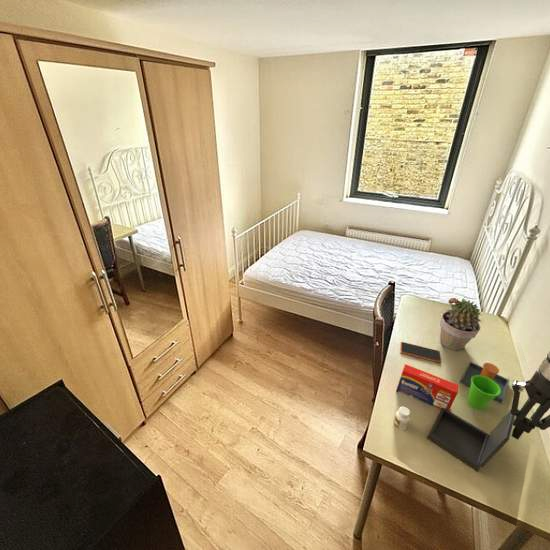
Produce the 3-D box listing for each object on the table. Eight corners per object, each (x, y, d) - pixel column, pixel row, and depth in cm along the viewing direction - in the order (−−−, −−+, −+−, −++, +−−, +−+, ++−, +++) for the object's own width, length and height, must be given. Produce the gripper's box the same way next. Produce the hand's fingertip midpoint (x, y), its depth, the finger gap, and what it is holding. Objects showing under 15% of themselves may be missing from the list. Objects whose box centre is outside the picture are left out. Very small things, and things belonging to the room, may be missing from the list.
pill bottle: (391, 418, 103) (396, 404, 100) (403, 419, 103) (408, 405, 99) (395, 430, 100) (400, 416, 96) (408, 431, 99) (413, 417, 96)
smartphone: (400, 342, 138) (400, 341, 137) (439, 352, 133) (439, 350, 132) (400, 353, 132) (400, 351, 131) (441, 363, 127) (441, 362, 126)
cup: (494, 415, 105) (507, 395, 100) (469, 415, 105) (481, 395, 100) (479, 394, 113) (490, 374, 108) (456, 394, 113) (466, 374, 108)
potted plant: (486, 353, 133) (508, 308, 120) (449, 360, 129) (469, 314, 116) (456, 328, 148) (473, 286, 136) (423, 333, 144) (437, 291, 132)
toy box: (448, 406, 108) (458, 384, 103) (447, 414, 105) (457, 392, 100) (398, 384, 117) (404, 363, 111) (395, 391, 114) (402, 370, 108)
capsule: (492, 381, 118) (500, 367, 114) (489, 389, 115) (497, 375, 111) (478, 374, 121) (485, 360, 117) (474, 381, 118) (482, 367, 114)
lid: (505, 437, 78) (508, 439, 78) (514, 405, 87) (517, 407, 87) (479, 465, 87) (482, 467, 86) (489, 433, 95) (492, 435, 95)
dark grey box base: (426, 439, 97) (428, 433, 95) (439, 413, 106) (442, 407, 104) (476, 473, 88) (480, 467, 87) (486, 441, 97) (490, 435, 95)
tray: (507, 383, 118) (509, 380, 117) (501, 404, 110) (503, 400, 109) (468, 364, 126) (470, 361, 125) (459, 382, 118) (461, 378, 117)
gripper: (593, 383, 70) (545, 441, 81) (526, 355, 77) (491, 411, 89) (593, 403, 65) (543, 461, 77) (522, 371, 73) (486, 428, 84)
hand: (515, 434), depth 83 cm, fingers closed
